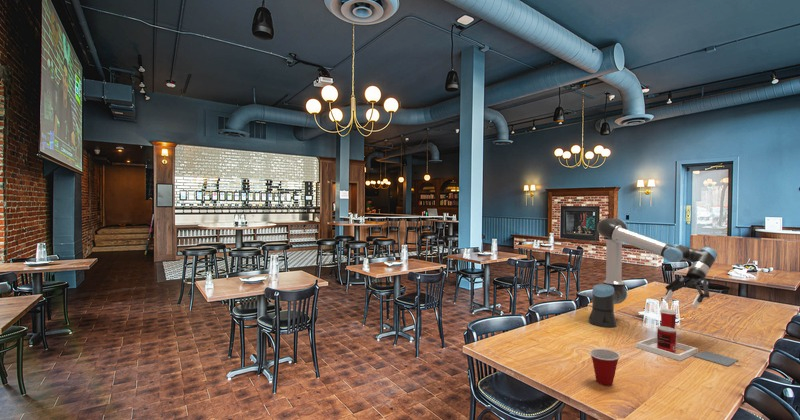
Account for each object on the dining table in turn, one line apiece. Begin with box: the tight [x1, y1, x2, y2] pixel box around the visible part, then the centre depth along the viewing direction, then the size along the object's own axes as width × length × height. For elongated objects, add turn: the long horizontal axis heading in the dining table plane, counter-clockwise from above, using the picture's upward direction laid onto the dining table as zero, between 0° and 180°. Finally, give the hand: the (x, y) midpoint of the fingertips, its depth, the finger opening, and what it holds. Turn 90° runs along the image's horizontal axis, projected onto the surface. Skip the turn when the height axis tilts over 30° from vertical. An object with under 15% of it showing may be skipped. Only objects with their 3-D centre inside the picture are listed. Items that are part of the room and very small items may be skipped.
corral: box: [636, 336, 698, 362], centre depth 188 cm, size 19×19×2 cm
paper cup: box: [660, 308, 678, 330], centre depth 212 cm, size 8×8×14 cm
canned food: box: [656, 326, 677, 354], centre depth 188 cm, size 8×8×11 cm
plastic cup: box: [589, 348, 621, 387], centre depth 151 cm, size 11×11×12 cm
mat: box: [692, 350, 739, 368], centre depth 178 cm, size 13×13×1 cm
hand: (679, 303), depth 192 cm, fingers open, 13 cm apart
